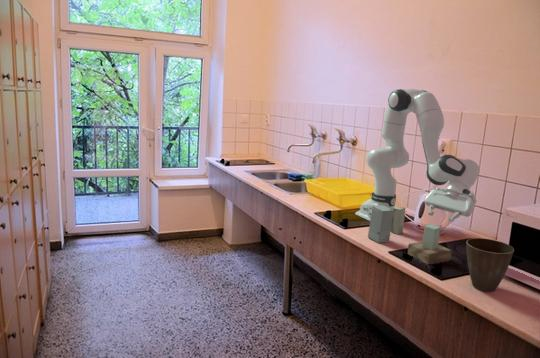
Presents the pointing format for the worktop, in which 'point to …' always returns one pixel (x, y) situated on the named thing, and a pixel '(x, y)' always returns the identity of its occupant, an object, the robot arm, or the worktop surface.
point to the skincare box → (380, 224)
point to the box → (398, 220)
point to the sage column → (431, 237)
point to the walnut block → (429, 253)
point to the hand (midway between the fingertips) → (440, 217)
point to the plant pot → (487, 262)
